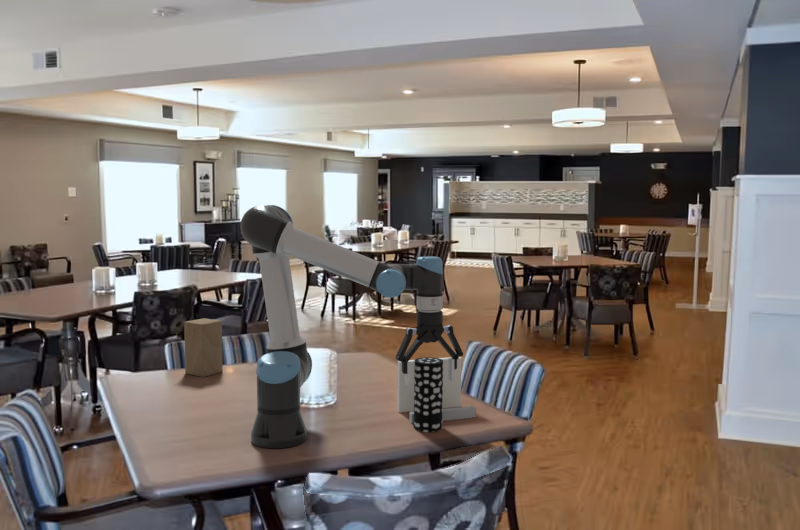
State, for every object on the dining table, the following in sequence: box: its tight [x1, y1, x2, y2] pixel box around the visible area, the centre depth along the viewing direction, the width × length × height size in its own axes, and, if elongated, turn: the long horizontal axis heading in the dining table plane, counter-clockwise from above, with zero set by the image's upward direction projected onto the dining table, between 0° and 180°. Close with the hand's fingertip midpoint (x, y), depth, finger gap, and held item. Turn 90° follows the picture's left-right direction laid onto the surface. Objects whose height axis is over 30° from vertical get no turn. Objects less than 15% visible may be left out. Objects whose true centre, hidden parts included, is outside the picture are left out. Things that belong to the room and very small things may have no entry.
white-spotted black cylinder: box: [413, 356, 443, 433], centre depth 199 cm, size 8×8×20 cm
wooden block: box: [183, 317, 224, 378], centre depth 260 cm, size 10×10×20 cm
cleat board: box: [396, 356, 477, 425], centre depth 212 cm, size 21×14×16 cm, turn 109°
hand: (429, 382), depth 199 cm, fingers open, 13 cm apart
